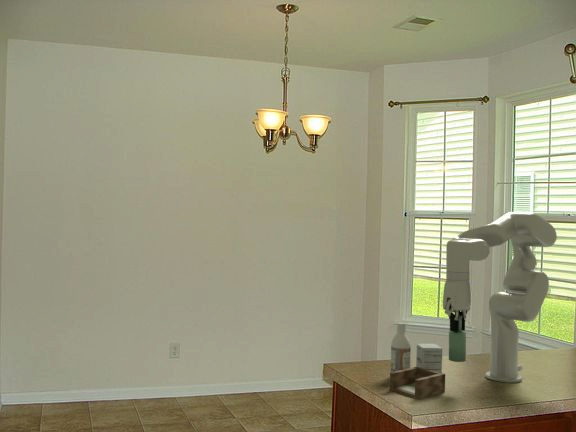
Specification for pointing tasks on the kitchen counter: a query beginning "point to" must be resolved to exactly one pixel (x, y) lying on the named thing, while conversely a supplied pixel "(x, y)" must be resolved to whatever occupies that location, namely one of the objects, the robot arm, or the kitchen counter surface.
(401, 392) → the walnut U-rest
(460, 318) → the green bottle
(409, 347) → the bath foam
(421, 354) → the supplement box
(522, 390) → the kitchen counter surface
